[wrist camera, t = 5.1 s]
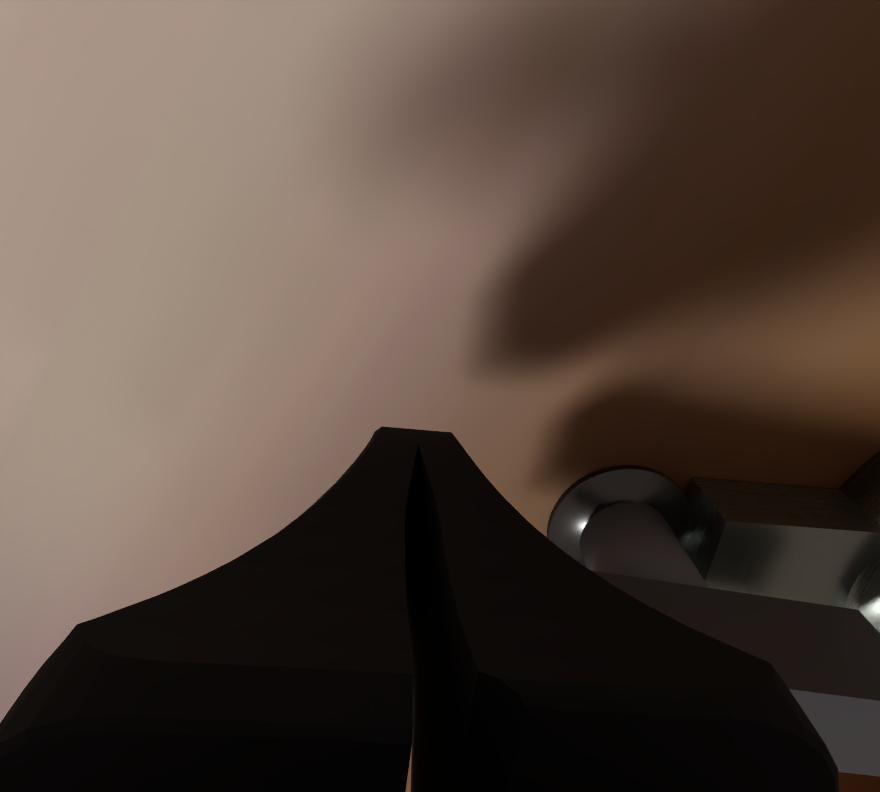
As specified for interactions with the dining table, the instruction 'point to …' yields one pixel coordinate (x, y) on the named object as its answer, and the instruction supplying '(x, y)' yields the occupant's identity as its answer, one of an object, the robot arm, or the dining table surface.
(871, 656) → the post
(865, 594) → the levelling base
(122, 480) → the dining table surface
